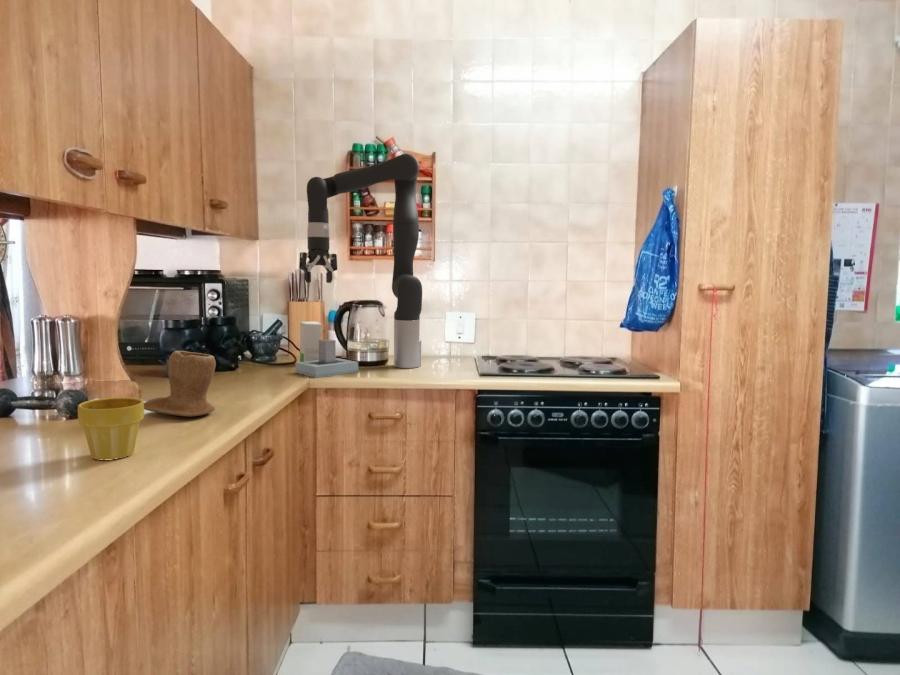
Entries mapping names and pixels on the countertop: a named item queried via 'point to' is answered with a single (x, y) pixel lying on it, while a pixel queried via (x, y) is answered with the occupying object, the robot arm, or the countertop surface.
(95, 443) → the plant pot
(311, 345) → the skincare box
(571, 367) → the countertop surface
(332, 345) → the bracket
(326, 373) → the well block
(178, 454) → the countertop surface
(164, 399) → the brown hat-shaped piece
